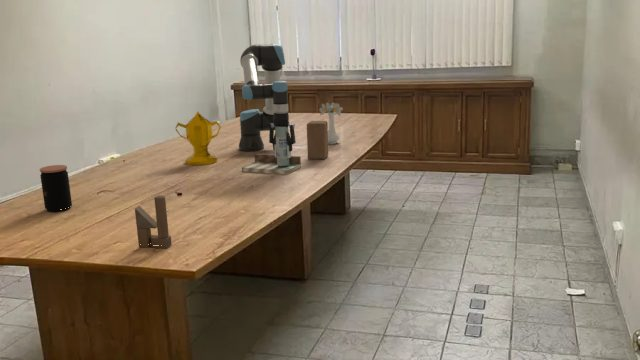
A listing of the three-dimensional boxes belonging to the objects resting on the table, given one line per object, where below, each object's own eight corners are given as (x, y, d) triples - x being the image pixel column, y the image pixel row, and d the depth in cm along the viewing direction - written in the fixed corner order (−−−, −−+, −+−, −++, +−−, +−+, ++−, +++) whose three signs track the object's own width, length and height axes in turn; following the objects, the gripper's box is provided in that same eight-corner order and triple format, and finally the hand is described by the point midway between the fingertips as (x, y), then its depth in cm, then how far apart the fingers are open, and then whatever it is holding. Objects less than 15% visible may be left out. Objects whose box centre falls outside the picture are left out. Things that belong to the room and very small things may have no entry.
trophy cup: (176, 161, 358) (172, 111, 351) (219, 156, 366) (216, 107, 359) (181, 167, 342) (176, 115, 335) (226, 162, 350) (222, 111, 343)
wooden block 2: (143, 244, 224) (137, 194, 220) (172, 245, 222) (167, 195, 218) (138, 247, 221) (133, 197, 216) (167, 248, 219) (163, 198, 214)
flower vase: (345, 140, 403) (344, 100, 396) (338, 145, 385) (337, 104, 379) (325, 139, 406) (324, 100, 400) (317, 145, 389) (316, 104, 383)
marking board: (241, 171, 328) (241, 159, 327) (256, 164, 343) (256, 153, 341) (287, 174, 318) (286, 162, 317) (300, 167, 332) (300, 156, 331)
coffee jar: (50, 206, 275) (44, 165, 271) (75, 204, 276) (70, 164, 272) (41, 213, 265) (35, 171, 261) (68, 212, 266) (62, 170, 262)
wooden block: (325, 159, 349) (324, 123, 344) (307, 159, 351) (306, 123, 346) (328, 155, 359) (327, 120, 354) (311, 155, 361) (310, 120, 356)
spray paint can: (280, 166, 323) (278, 127, 318) (274, 164, 329) (273, 125, 324) (291, 165, 326) (290, 126, 321) (286, 162, 332) (284, 124, 327)
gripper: (260, 112, 321) (262, 157, 327) (295, 113, 314) (297, 159, 319) (267, 110, 328) (269, 154, 334) (301, 111, 320) (303, 156, 326)
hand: (283, 157), depth 327 cm, fingers closed on spray paint can, 6 cm apart
